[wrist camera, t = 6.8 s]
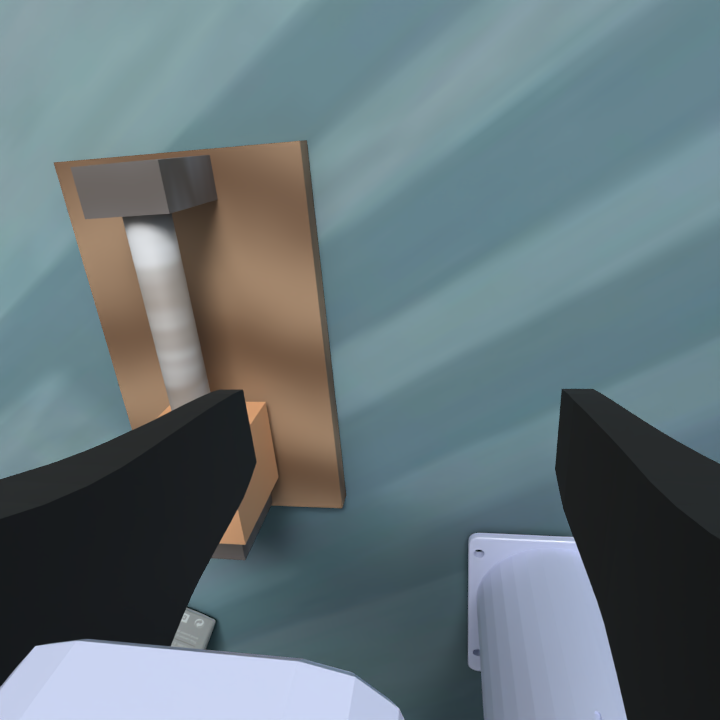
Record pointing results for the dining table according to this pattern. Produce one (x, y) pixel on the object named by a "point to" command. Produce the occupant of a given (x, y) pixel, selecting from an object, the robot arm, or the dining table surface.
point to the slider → (253, 476)
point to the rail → (216, 296)
